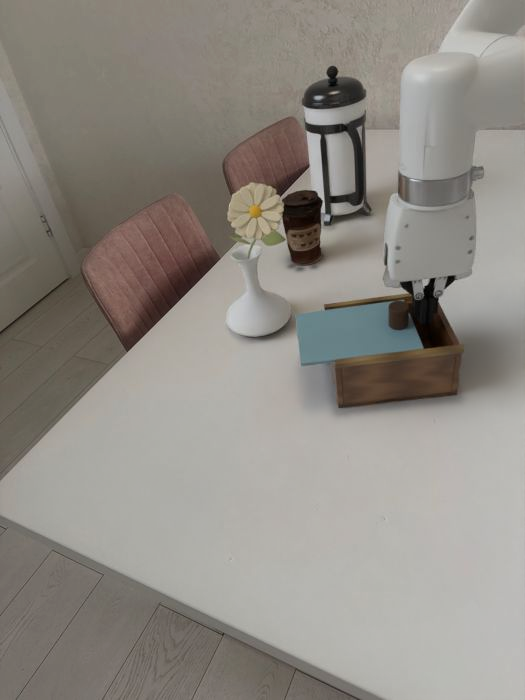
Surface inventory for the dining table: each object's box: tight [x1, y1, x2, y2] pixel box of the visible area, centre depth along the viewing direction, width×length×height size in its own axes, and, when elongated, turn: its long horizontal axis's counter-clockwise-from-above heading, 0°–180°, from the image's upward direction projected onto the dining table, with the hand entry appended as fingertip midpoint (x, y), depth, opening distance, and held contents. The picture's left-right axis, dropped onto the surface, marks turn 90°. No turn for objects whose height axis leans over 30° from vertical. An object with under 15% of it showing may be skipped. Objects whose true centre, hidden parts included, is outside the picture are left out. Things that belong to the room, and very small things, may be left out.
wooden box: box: [323, 292, 466, 409], centre depth 70 cm, size 16×13×9 cm
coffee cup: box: [281, 189, 323, 266], centre depth 97 cm, size 9×8×13 cm
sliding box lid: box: [295, 300, 424, 367], centre depth 67 cm, size 16×11×4 cm
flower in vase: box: [225, 181, 292, 338], centre depth 78 cm, size 13×11×25 cm
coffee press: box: [301, 65, 373, 226], centre depth 104 cm, size 17×16×30 cm
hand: (423, 317), depth 66 cm, fingers closed
